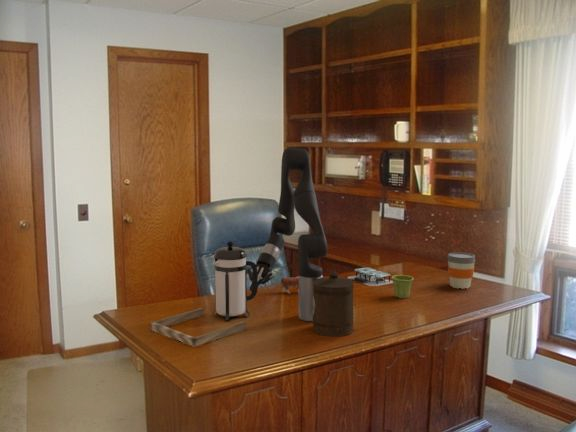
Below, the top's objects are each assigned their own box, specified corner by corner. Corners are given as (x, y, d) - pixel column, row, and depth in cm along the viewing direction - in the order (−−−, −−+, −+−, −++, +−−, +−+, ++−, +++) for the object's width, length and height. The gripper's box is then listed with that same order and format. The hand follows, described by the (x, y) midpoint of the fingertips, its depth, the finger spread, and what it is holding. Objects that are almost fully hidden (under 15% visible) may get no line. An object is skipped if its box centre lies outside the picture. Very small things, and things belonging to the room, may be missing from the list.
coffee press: (246, 323, 220) (246, 246, 215) (206, 320, 223) (205, 244, 219) (258, 309, 237) (257, 237, 232) (220, 307, 240) (219, 236, 235)
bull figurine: (310, 294, 260) (310, 276, 258) (280, 293, 260) (280, 276, 259) (310, 291, 264) (310, 274, 263) (281, 291, 264) (281, 273, 263)
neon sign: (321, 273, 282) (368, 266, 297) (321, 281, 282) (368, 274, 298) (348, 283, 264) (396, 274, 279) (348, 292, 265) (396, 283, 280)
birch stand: (246, 329, 213) (245, 321, 212) (194, 347, 195) (193, 339, 195) (201, 315, 230) (201, 307, 229) (150, 330, 212) (150, 322, 212)
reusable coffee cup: (440, 284, 276) (442, 253, 274) (461, 281, 282) (462, 251, 279) (458, 290, 265) (460, 259, 263) (479, 287, 270) (481, 256, 268)
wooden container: (328, 320, 223) (328, 265, 220) (360, 329, 214) (362, 271, 211) (304, 330, 212) (305, 272, 209) (338, 340, 202) (339, 279, 199)
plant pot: (411, 294, 260) (412, 275, 259) (414, 300, 251) (414, 280, 249) (390, 293, 261) (391, 274, 260) (392, 299, 252) (392, 280, 250)
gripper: (252, 250, 249) (235, 284, 241) (278, 253, 242) (261, 288, 234) (259, 259, 255) (243, 293, 246) (284, 263, 248) (268, 298, 239)
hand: (252, 291), depth 240 cm, fingers closed
